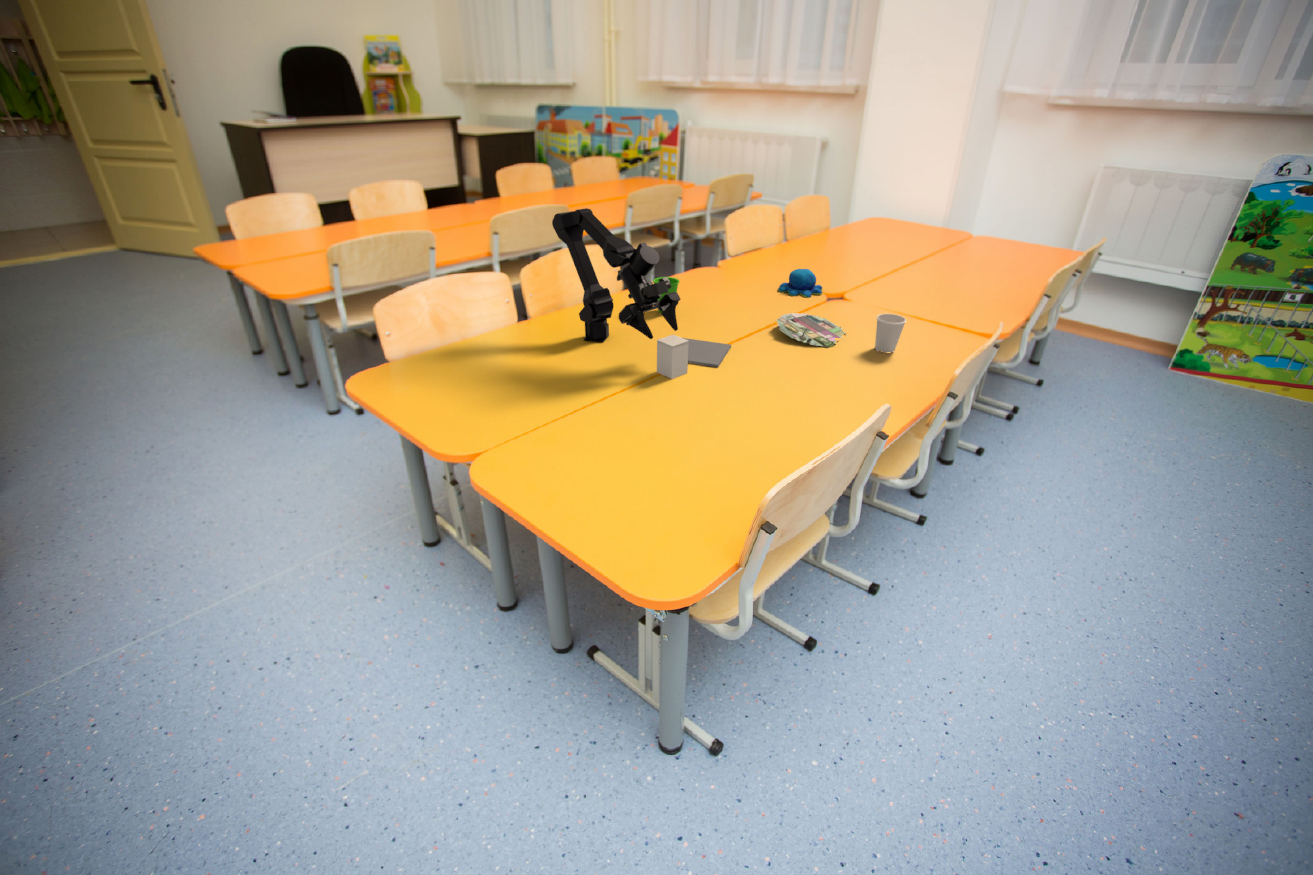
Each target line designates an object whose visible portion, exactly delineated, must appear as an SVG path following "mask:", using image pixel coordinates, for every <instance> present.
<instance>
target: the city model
mask: <svg viewBox="0 0 1313 875" xmlns="http://www.w3.org/2000/svg"><path fill="white" fill-rule="evenodd" d="M776 323H777V325H778V330H779V331H780V332H782V333H784V334H785V335H786V336H788V337H789V338H791V339H795V340H796V341H798V342H802V343H803V344H809V345H810V346H811V345H812V346H816V347H817V346H820V347H823V348H825V347H827V348H831V347H830V346H832V347H833V346H836V345H837V343H836V340H835V338H841V337H842V335H843V334H846V335H847V333H846V332H845V331H844V329H843V328H842V327H841V326H839V325H837V324H835V323H833V322H832V321H830V320H829V319H827V318H825V317H821V316H818V315H813V314H809V313H797V312H794V313H792V312H791V313H786V314H785V313H784V314H783V315H780V317H778V318H777V319H776ZM841 334H842V335H841ZM835 343H836V344H835ZM834 344H835V345H834Z"/></svg>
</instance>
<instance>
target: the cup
mask: <svg viewBox="0 0 1313 875" xmlns="http://www.w3.org/2000/svg"><path fill="white" fill-rule="evenodd" d="M665 277H667V278H668V280H669V281H670V283H671V288H670V289H668V291H669V292H668V293H672V292H676V293H678V287H679V283H680V280H679V278H676V277H672V276H660V277H655V278H654V279H653V280H652V281H653V282H652V283H653V284H655V283H658V282H659V279H662V278H665ZM668 293H663V294H661V297H660V298H659V299H657V300H658V301H659V300H661V299H662V297H663V296H664V295H665V294H668ZM657 310H658V313H659V314H661V313H662V311H660V310H659V308H657Z"/></svg>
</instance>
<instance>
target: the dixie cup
mask: <svg viewBox="0 0 1313 875" xmlns="http://www.w3.org/2000/svg"><path fill="white" fill-rule="evenodd" d="M906 323H907V319H906V318H905V317H904V316H902V315H899V314H895V313H894V314H893V313H881V314H880V313H879V314H878V315H876V329H875V341H874V342H875V343H874V350H875V349H876V350H877V351H876V350H875V351H876V352H878V351H882V352H893V351H894V352H895V351H896V347H897V345H898V342H899V339H900V338H901V335H902V332H903V330H904V327H905V325H906ZM894 352H893V353H894Z"/></svg>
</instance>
